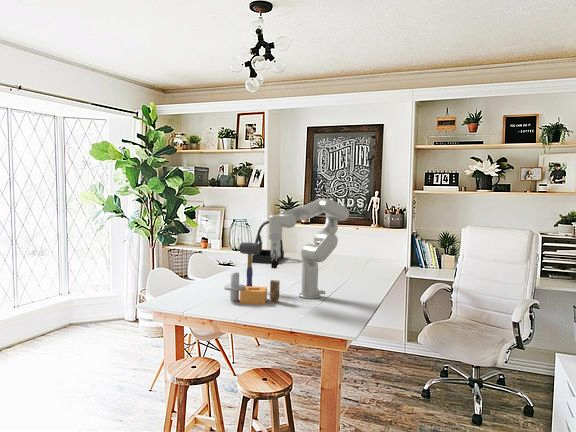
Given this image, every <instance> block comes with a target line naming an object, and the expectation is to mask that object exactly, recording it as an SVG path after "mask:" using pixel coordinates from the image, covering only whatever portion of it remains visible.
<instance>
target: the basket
mask: <svg viewBox="0 0 576 432" xmlns="http://www.w3.org/2000/svg"><path fill="white" fill-rule="evenodd" d="M267 224H268V225H269V220H267V221H264V222H263V223H262V224H261V225H260V226H259V228H258V231H257V234H256V237H255V242H254V243H257V244H260V247H261V250H260V253H259V254H258V255H252V264H261V265H262V264H264V265H271V261H272V257H271V249H263V241H262V237H261V232H262V230H263V228H264V227H265V226H266V225H267ZM283 249H284V246H283V239H282V240H280V257H278V258H279V262H280V261H281V260H283V259H284V257H285V250H283Z"/></svg>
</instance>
